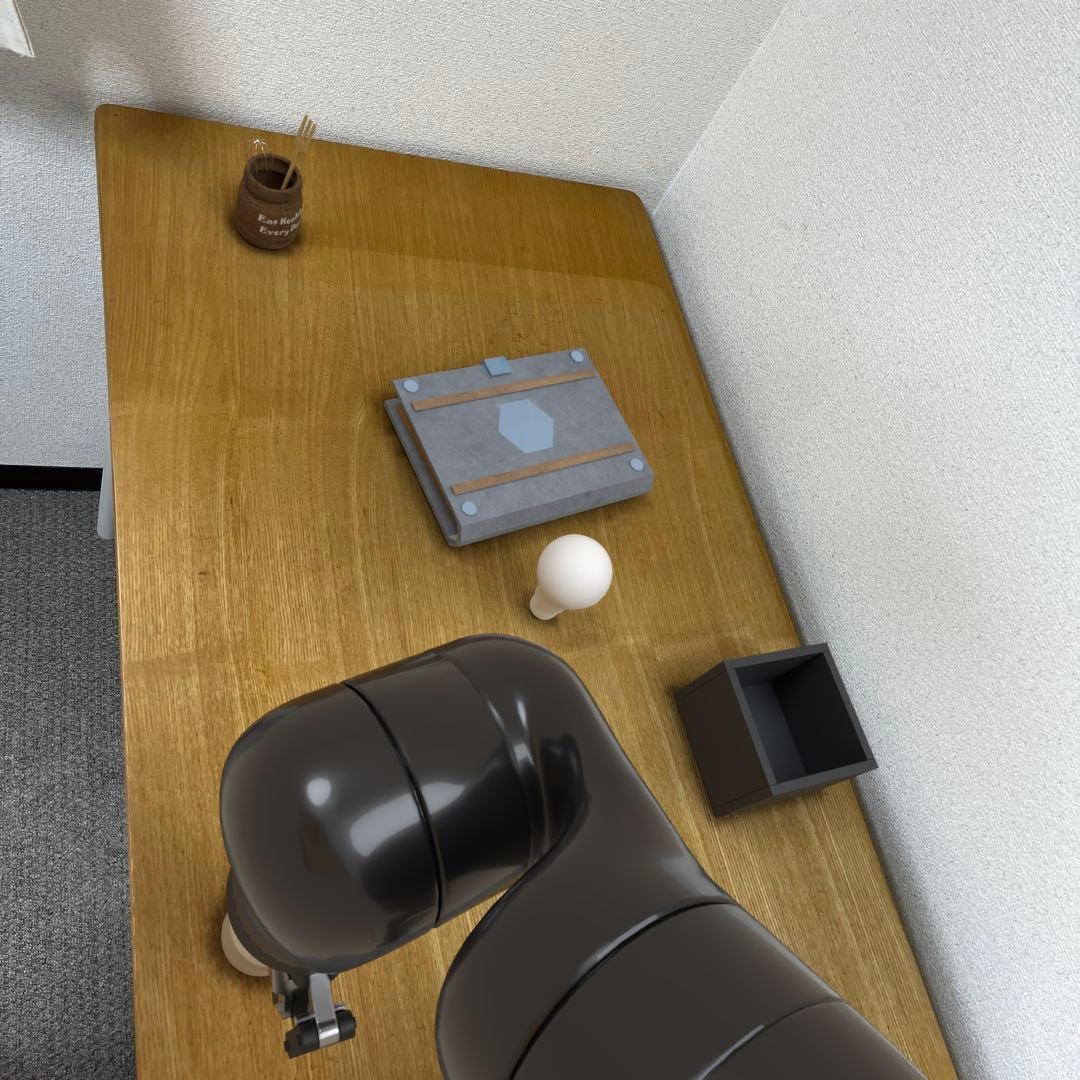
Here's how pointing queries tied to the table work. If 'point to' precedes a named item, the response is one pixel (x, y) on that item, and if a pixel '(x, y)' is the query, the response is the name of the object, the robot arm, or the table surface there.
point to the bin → (772, 728)
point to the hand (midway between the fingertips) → (279, 913)
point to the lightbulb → (570, 576)
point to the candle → (240, 953)
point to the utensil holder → (272, 195)
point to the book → (516, 443)
